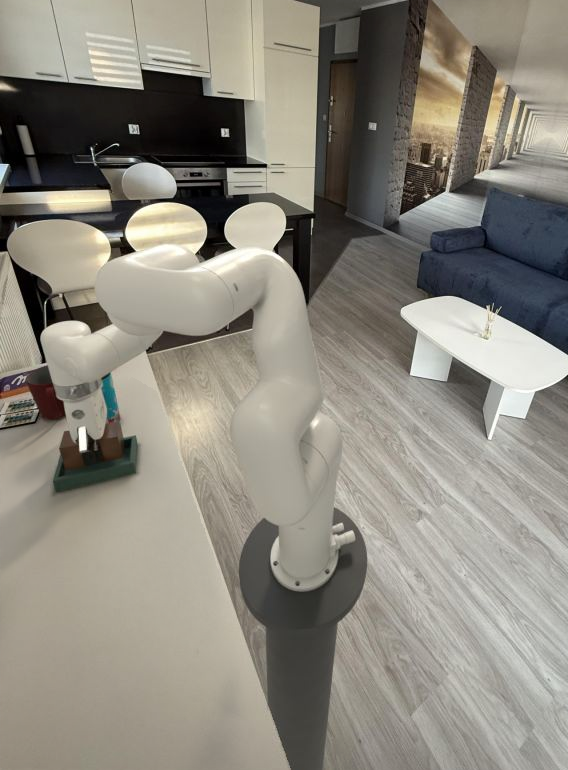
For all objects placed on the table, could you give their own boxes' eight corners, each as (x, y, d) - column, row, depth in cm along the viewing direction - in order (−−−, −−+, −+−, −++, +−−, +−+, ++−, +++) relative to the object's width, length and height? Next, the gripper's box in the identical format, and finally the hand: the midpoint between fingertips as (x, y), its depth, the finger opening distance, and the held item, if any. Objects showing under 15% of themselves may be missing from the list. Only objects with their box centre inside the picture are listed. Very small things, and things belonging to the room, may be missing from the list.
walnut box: (65, 470, 80) (58, 448, 78) (70, 452, 84) (64, 431, 82) (122, 458, 84) (117, 436, 82) (124, 441, 88) (119, 420, 86)
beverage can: (124, 425, 97) (114, 374, 91) (97, 436, 93) (84, 384, 87) (116, 413, 101) (106, 363, 95) (89, 423, 97) (76, 372, 91)
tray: (137, 445, 92) (135, 435, 91) (135, 473, 85) (133, 462, 84) (64, 461, 86) (61, 450, 85) (55, 492, 79) (52, 481, 78)
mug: (82, 422, 97) (72, 385, 92) (36, 434, 92) (23, 396, 88) (80, 395, 106) (71, 360, 101) (38, 405, 101) (27, 369, 96)
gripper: (95, 406, 71) (112, 479, 79) (106, 357, 85) (119, 423, 92) (43, 415, 68) (66, 490, 75) (63, 362, 82) (81, 430, 89)
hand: (95, 452), depth 84 cm, fingers closed on walnut box, 5 cm apart
